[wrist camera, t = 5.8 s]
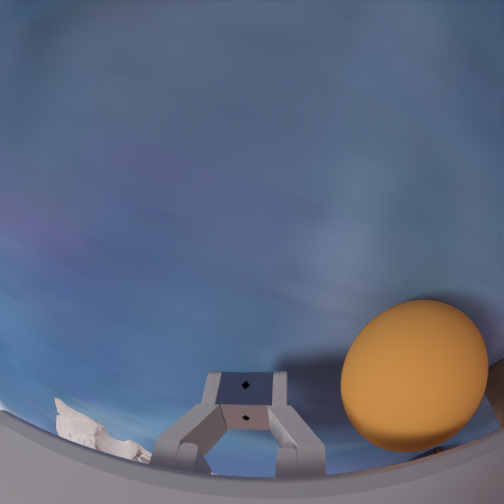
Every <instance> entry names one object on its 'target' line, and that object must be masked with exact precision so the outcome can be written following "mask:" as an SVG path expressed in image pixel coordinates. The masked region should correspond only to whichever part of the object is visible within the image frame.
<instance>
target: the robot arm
mask: <svg viewBox="0 0 504 504" xmlns="http://www.w3.org/2000/svg"><path fill="white" fill-rule="evenodd" d="M227 429H253V430H270V432H271V433H272V435H273V436H274V438H275V439H276V441H277V442H278V444H279V445H280V447H281V448H280V449H279V450H278V451H277V460H276V475H275V477H241V476H226V475H215V474H211V471H212V470H211V468H210V467H209V465H208V463H207V462H206V460H205V458H204V456H205V455H206V454H207V453H208V452H209V450H210V449H211V448H212V447H213V446H214V445H215V444H216V443H217V441H218V440H219V439H220V438H221V437H222V436H223V435H224V433H225V432H226V431H227ZM0 504H504V427H503V428H501V429H499V430H497V431H495V432H492V433H490V434H488V435H485V436H483V437H481V438H478V439H476V440H473V441H471V442H468V443H465V444H463V445H460V446H457V447H454V448H452V449H449V450H446V451H442V452H439V453H436V454H433V455H429V456H426V457H422V458H419V459H415V460H411V461H407V462H403V463H399V464H394V465H390V466H385V467H380V468H374V469H368V470H362V471H356V472H349V473H341V474H332V475H326V459H325V445H324V444H323V443H322V441H321V440H320V439H319V438H318V437H317V436H316V435H315V433H314V432H313V431H312V430H311V429H310V427H309V426H308V425H307V424H306V423H305V422H304V420H303V419H302V418H301V417H300V416H299V414H298V413H297V412H296V411H295V409H294V408H293V407H292V406H291V405H287V371H286V372H248V373H245V372H219V371H210V372H209V374H208V377H207V381H206V385H205V389H204V393H203V397H202V401H201V403H197V404H196V405H195V406H194V407H193V408H191V409H190V410H189V411H188V412H187V413H186V414H185V415H183V416H182V417H181V418H180V419H179V420H177V421H176V422H175V423H174V424H173V425H172V426H170V427H169V428H168V429H167V430H166V431H164V432H163V433H162V434H161V435H159V436H158V437H157V440H156V443H155V446H154V449H153V453H152V456H151V459H150V462H149V464H147V463H142V462H138V461H134V460H130V459H126V458H123V457H119V456H115V455H112V454H108V453H105V452H102V451H99V450H96V449H93V448H90V447H87V446H84V445H81V444H78V443H76V442H73V441H70V440H68V439H65V438H63V437H60V436H58V435H55V434H53V433H51V432H48V431H46V430H44V429H41V428H39V427H37V426H35V425H33V424H31V423H29V422H27V421H25V420H23V419H21V418H19V417H17V416H15V415H13V414H11V413H9V412H7V411H5V410H1V411H0Z"/></svg>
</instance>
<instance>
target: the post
mask: <svg viewBox="0 0 504 504" xmlns="http://www.w3.org/2000/svg"><path fill="white" fill-rule="evenodd" d="M485 394H486V396H487V398H488V400H489V402H490V404H491V406H492V409H493V411H494V413H495V415H496V418H497V420H498V422H499V425H500V427H501V428H503V427H504V360H501V361H499V362H498V363H496V364H495V365H493V366H492V367H491V368H490V369H489V370H488V379H487V385H486V388H485Z"/></svg>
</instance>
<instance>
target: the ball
mask: <svg viewBox="0 0 504 504" xmlns="http://www.w3.org/2000/svg"><path fill="white" fill-rule="evenodd" d="M487 379H488V356H487V350H486V346H485V343H484V340H483V338H482V336H481V334H480V332H479V330H478V328H477V327H476V326H475V324H474V323H473V322H472V321H471V320H470V318H469V317H468V316H466V315H465V314H464V313H463V312H461V311H460V310H458V309H457V308H455V307H453V306H451V305H449V304H446V303H443V302H440V301H435V300H412V301H408V302H404V303H400V304H398V305H395V306H393V307H390V308H389V309H387V310H385V311H383V312H382V313H380V314H378V315H377V316H376V317H375V318H374V319H372V320H371V321H370V322H369V323H368V324H367V325H366V326H365V327H364V328H363V329H362V330H361V332H360V333H359V334H358V335H357V337H356V339H355V340H354V342H353V343H352V345H351V346H350V349H349V351H348V353H347V356H346V358H345V361H344V365H343V369H342V375H341V397H342V402H343V405H344V409H345V412H346V414H347V416H348V418H349V420H350V422H351V423H352V425H353V426H354V428H355V429H356V430H357V431H358V433H359V434H360V435H361V436H363V437H364V438H365V439H366V440H368V441H369V442H371V443H372V444H374V445H376V446H378V447H380V448H383V449H386V450H390V451H395V452H417V451H422V450H426V449H429V448H432V447H435V446H437V445H439V444H441V443H443V442H445V441H446V440H448V439H449V438H451V437H452V436H454V435H455V434H456V433H457V432H459V431H460V430H461V429H462V428H463V427H464V426H465V425H466V423H467V422H468V421H469V420H470V419H471V417H472V416H473V414H474V413H475V411H476V410H477V408H478V406H479V404H480V402H481V400H482V397H483V395H484V392H485V388H486V385H487Z"/></svg>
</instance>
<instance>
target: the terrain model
mask: <svg viewBox="0 0 504 504" xmlns="http://www.w3.org/2000/svg"><path fill="white" fill-rule="evenodd" d="M54 398H55V397H54ZM55 402H56V407H57V409H58V410H57V411H58V412H59V413H60V415H57V421H55V422H57V426H56V427H57V432H58V435H59V436H60V437H63V438H65V439H68V440H70V441H73V442H76V443H78V444H81V445H84V446H87V447H90V448H93V449H96V450H99V451H102V452H105V453H108V454H112V455H115V456H119V457H123V458H126V459H130V460H134V461H138V462H142V463H147V464H149V462H150V459H151V456H152V453H150V452H148V451H146V449H144V448H143V447H142V446H140V445H139V444H137V443H135V442H133V441H131V440H127V441H125V442H123V441H119V440H116V439H114V438H112V437H110V436H109V435H108V434H107V432H106V430H105V426H104V425H102V424H100V423H98V422H97V421H95V420H93V419H91V418H89V417H87V416H85V415H83V414H81V413H78V412H77V411H75V410H73V409H72V408H70V407H68V406H67V405H65V404H64V403H63V402H62V401H61V400H60V399H58V398H57V397H56V398H55ZM211 474H213V473H211ZM215 475H217V474H215Z"/></svg>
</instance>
